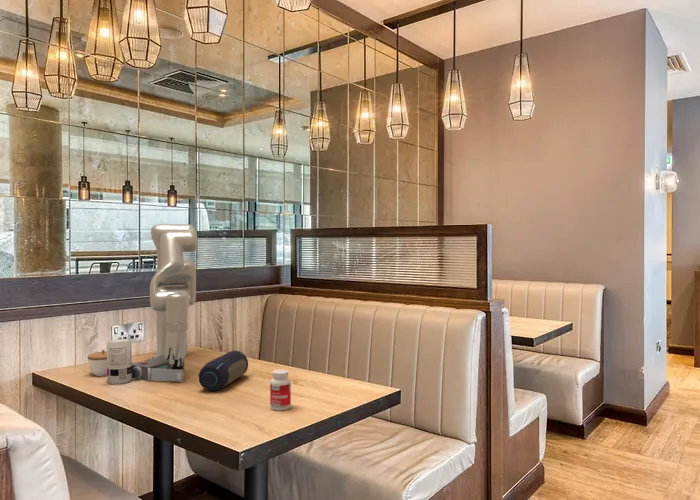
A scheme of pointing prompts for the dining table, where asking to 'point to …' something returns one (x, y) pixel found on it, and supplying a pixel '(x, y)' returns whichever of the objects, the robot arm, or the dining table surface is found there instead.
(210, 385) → the portable speaker
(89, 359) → the lidded jar
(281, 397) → the pill bottle
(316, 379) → the dining table surface
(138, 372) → the camera body
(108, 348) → the supplement can
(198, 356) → the dining table surface
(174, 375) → the thin grey plank
